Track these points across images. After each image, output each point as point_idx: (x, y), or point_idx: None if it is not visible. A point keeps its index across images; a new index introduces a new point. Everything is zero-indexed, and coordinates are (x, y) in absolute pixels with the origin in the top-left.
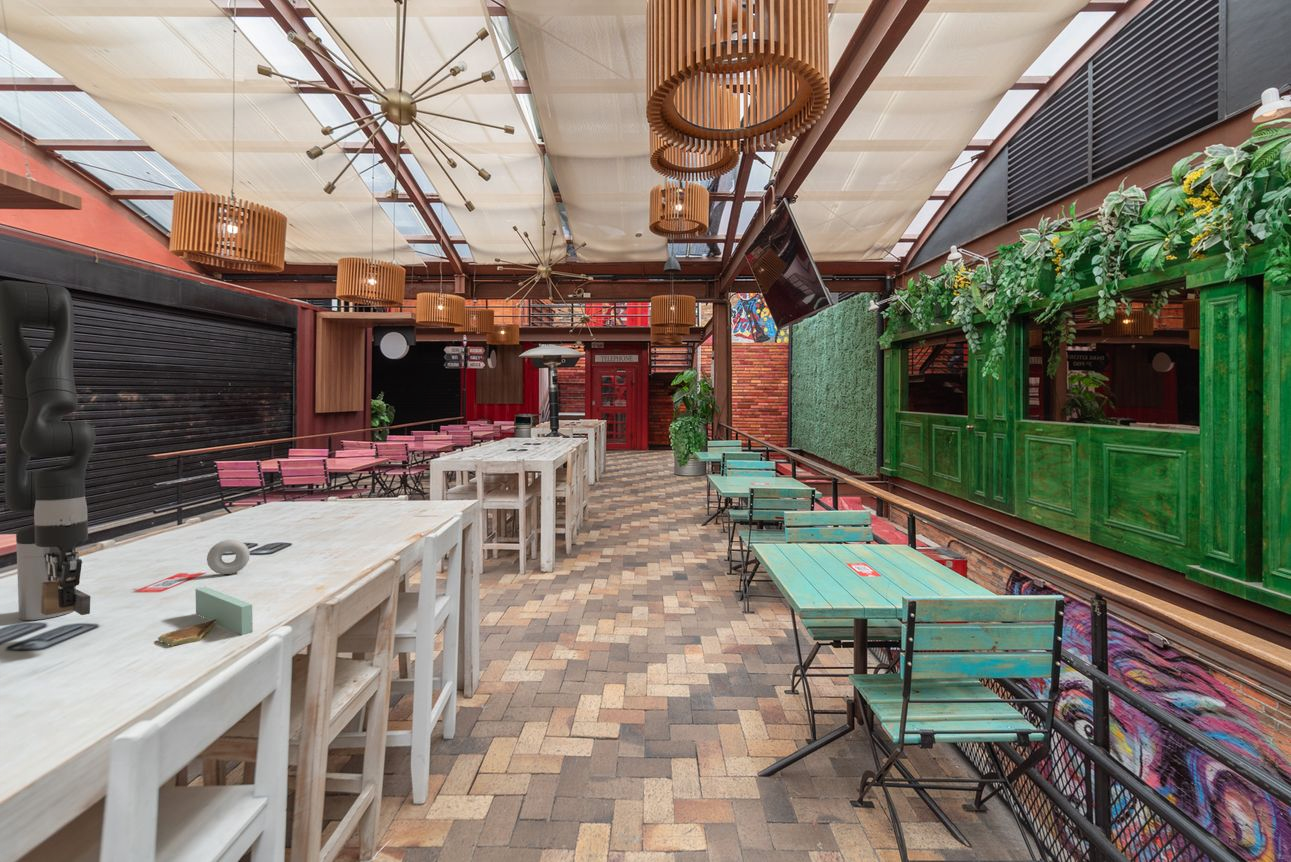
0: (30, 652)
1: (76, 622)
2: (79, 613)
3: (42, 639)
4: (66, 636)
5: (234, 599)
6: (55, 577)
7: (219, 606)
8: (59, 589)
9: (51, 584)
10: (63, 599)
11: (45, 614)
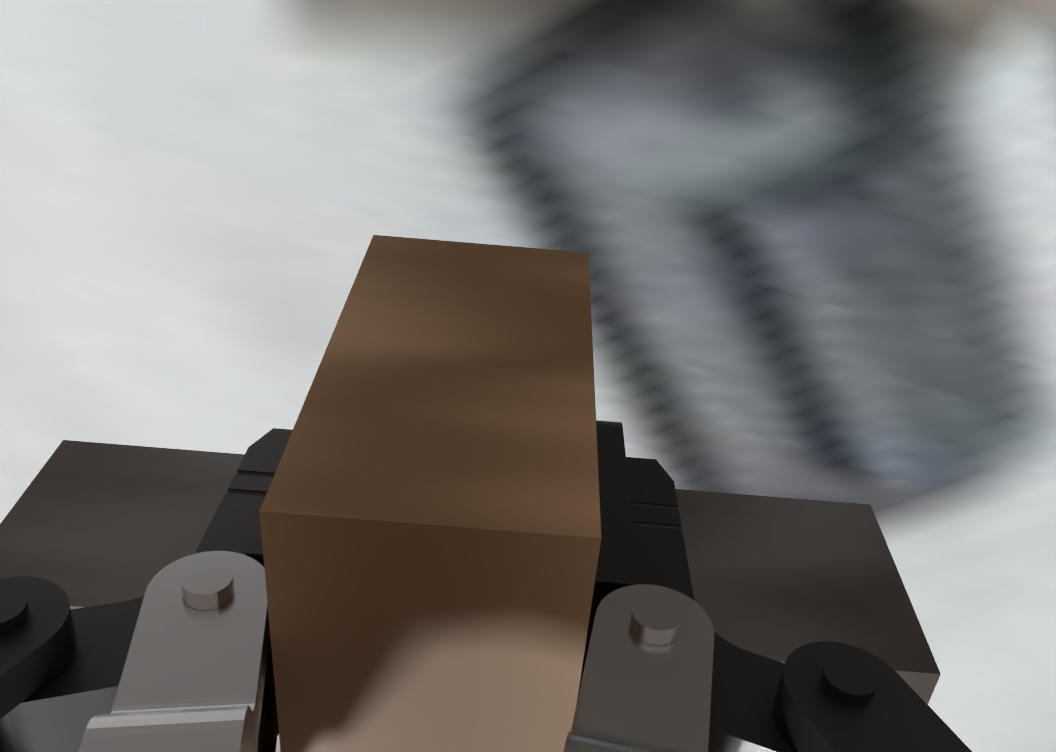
0: (478, 9)
1: (1020, 492)
2: (138, 449)
3: (797, 195)
4: (681, 324)
5: None
6: (144, 713)
7: None
8: (192, 556)
9: (266, 564)
10: (237, 478)
11: (374, 240)
